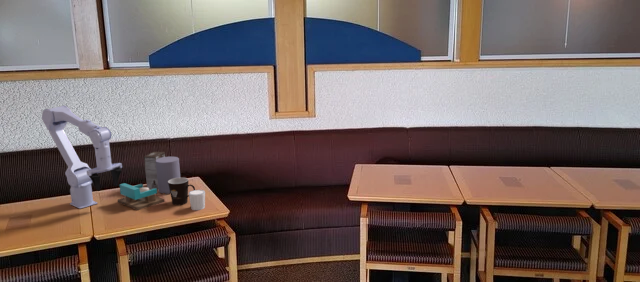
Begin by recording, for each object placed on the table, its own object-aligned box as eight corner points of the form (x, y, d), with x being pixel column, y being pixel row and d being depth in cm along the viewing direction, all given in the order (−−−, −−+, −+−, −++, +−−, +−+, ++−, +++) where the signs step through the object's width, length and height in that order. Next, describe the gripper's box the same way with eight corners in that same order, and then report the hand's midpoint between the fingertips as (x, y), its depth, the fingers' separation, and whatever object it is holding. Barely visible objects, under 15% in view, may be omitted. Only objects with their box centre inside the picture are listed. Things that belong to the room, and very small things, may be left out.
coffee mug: (166, 202, 229) (164, 180, 226) (183, 197, 235) (181, 176, 232) (180, 209, 221) (178, 186, 218) (197, 203, 226) (196, 181, 224)
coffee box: (156, 183, 256) (153, 151, 252) (168, 183, 255) (165, 151, 251) (146, 189, 247) (143, 156, 243) (159, 189, 246) (156, 156, 242)
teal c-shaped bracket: (141, 187, 236) (140, 178, 235) (157, 193, 229) (156, 183, 228) (120, 194, 229) (119, 184, 228) (135, 199, 221) (134, 189, 220)
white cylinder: (186, 208, 221) (184, 193, 219) (198, 203, 227) (197, 188, 225) (197, 211, 217) (196, 196, 216) (209, 206, 223) (208, 191, 221)
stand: (144, 194, 240) (142, 182, 239) (164, 201, 230) (163, 189, 229) (117, 202, 230) (116, 190, 229) (137, 210, 220) (136, 197, 219)
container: (154, 193, 240) (151, 162, 237) (164, 186, 250) (161, 156, 247) (176, 194, 239) (173, 162, 235) (184, 187, 249) (182, 156, 245)
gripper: (91, 162, 209) (95, 194, 212) (124, 154, 220) (127, 185, 223) (82, 159, 214) (86, 191, 217) (115, 151, 224) (119, 182, 227)
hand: (107, 187), depth 220 cm, fingers open, 7 cm apart
